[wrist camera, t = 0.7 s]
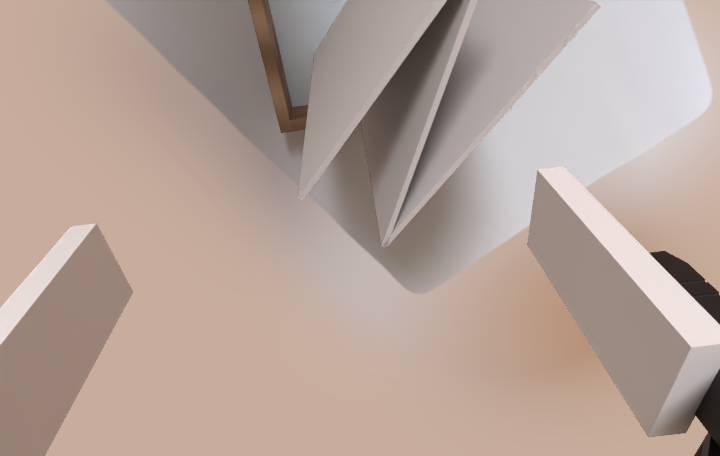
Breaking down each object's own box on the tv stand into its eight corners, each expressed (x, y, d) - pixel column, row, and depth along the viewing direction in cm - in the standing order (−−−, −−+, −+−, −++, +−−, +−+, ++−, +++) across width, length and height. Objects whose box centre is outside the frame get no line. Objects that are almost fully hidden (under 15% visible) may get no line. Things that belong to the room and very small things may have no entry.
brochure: (356, 84, 48) (385, 248, 24) (313, 54, 46) (296, 199, 22) (441, -40, 42) (600, 7, 17) (396, -80, 40) (503, -93, 15)
